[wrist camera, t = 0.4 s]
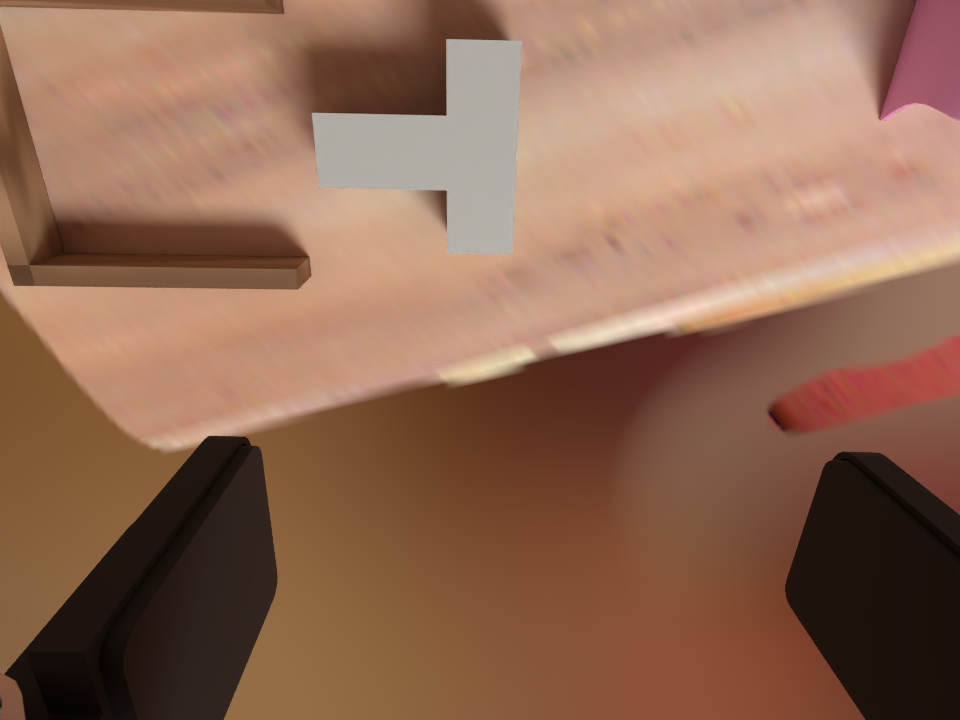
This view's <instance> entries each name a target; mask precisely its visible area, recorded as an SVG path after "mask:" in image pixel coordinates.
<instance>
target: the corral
mask: <svg viewBox="0 0 960 720" xmlns="http://www.w3.org/2000/svg"><path fill="white" fill-rule="evenodd" d="M0 7H35V8H74V9H113V10H151V11H190V12H228V13H267V14H284V8H283V0H0ZM0 244H1V247H2V250H3V253H4V256H5V259H6V262H7V266H8V269H9V272H10V275H11V278H12V281H13V284H14V286H82V287H154V288H227V289H299V288H300V287H301V286H302V285H303V284H304V283H305V282H306V281H307V280H308V279H309V278H310V277H311V268H310V258H309V257H271V256H206V255H140V254H74V253H64V251H63V248H62V244H61V241H60V237H59V234H58V230H57V226H56V223H55V219H54V216H53V212H52V209H51V205H50V202H49V198H48V194H47V191H46V187H45V184H44V180H43V177H42V173H41V170H40V166H39V162H38V159H37V155H36V152H35V148H34V145H33V141H32V138H31V134H30V130H29V127H28V123H27V120H26V116H25V113H24V109H23V106H22V102H21V98H20V95H19V91H18V88H17V84H16V81H15V77H14V74H13V70H12V66H11V63H10V59H9V56H8V52H7V49H6V45H5V42H4V38H3V34H2V31H1V27H0Z"/></svg>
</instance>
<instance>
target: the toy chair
mask: <svg viewBox="0 0 960 720" xmlns="http://www.w3.org/2000/svg"><path fill="white" fill-rule="evenodd" d="M918 103H919V104H925V105H928V106H930V107H933V108H935V109H937V110H939V111H940V112H942V113H944V114H946V115H947V116H949V117H951V118H953V119H956V120H958V121H960V0H916V3H915V6H914V9H913V13H912V16H911V19H910V22H909V26H908V29H907V32H906V35H905V39H904V42H903V45H902V48H901V51H900V55H899V58H898V61H897V64H896V68H895V71H894V74H893V77H892V81H891V84H890V87H889V90H888V93H887V97H886V100H885V103H884V106H883V110H882V113H881V116H880V120H882V121H886V120H887V119H889V118H890V117H891V116H893V115H894V114H895V113H897V112H899V111H900V110H902V109H904V108H906V107H908V106H910V105H914V104H918Z"/></svg>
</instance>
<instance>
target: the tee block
mask: <svg viewBox="0 0 960 720" xmlns="http://www.w3.org/2000/svg"><path fill="white" fill-rule="evenodd" d="M521 48H522V41H505V40H465V39H446V90H447V115H404V114H358V113H312V120H313V130H314V141H315V152H316V163H317V174H318V184H319V188H340V189H394V190H447V254H510V255H512V254H513V231H514V209H515V186H516V163H517V140H518V117H519V94H520V71H521Z"/></svg>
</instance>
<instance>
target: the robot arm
mask: <svg viewBox="0 0 960 720" xmlns="http://www.w3.org/2000/svg"><path fill="white" fill-rule="evenodd" d="M276 587H277V567H276V560H275V552H274V544H273V536H272V529H271V521H270V514H269V507H268V498H267V491H266V483H265V475H264V467H263V460H262V453H261V450H260V448H259V447H258V446H251V444H250V442H249V440H248V438H246V437H236V436H208V437H207V438H206V439H204V441H203V442H202V443H201V444H200V445H199V446H198V448H197V449H196V450H195V451H194V452H193V454H192V455H191V456H190V457H189V458H188V459H187V461H186V462H185V463H184V464H183V466H182V467H181V468H180V469H179V470H178V472H177V473H176V474H175V475H174V476H173V477H172V478H171V480H170V481H169V482H168V483H167V484H166V486H165V487H164V488H163V489H162V490H161V491H160V493H159V494H158V495H157V496H156V498H155V499H154V500H153V501H152V502H151V503H150V504H149V506H148V507H147V508H146V509H145V511H144V512H143V513H142V514H141V515H140V516H139V518H138V519H137V520H136V521H135V522H134V523H133V524H132V525H131V526H130V527H129V528H128V529H127V530H126V531H125V532H124V534H123V535H122V536H121V537H120V538H119V540H118V541H117V542H116V543H115V544H114V545H113V547H112V548H111V549H110V550H109V551H108V553H107V554H106V555H105V556H104V557H103V558H102V560H101V561H100V562H99V563H98V564H97V565H96V567H95V568H94V569H93V570H92V571H91V573H90V574H89V575H88V576H87V577H86V578H85V580H84V581H83V582H82V583H81V584H80V586H79V587H78V588H77V589H76V590H75V591H74V593H73V594H72V595H71V596H70V597H69V598H68V600H67V601H66V602H65V603H64V604H63V606H62V607H61V608H60V609H59V610H58V612H57V613H56V614H55V615H54V616H53V618H52V619H51V620H50V621H49V622H48V623H47V625H46V626H45V627H44V628H43V629H42V630H41V632H40V633H39V634H38V635H37V636H36V637H35V639H34V640H33V641H32V642H31V643H30V644H29V646H28V647H27V648H26V649H25V650H24V652H23V653H22V654H21V655H20V656H19V657H18V659H17V660H16V661H15V662H14V663H13V665H12V666H11V667H10V668H9V669H8V670H7V672H6V673H5V674H2V673H0V720H223V719H224V717H225V715H226V713H227V710H228V707H229V705H230V703H231V700H232V698H233V696H234V693H235V691H236V688H237V686H238V684H239V681H240V678H241V676H242V674H243V671H244V669H245V667H246V664H247V662H248V659H249V657H250V654H251V652H252V649H253V647H254V645H255V642H256V640H257V638H258V635H259V633H260V630H261V628H262V625H263V623H264V621H265V618H266V616H267V613H268V611H269V609H270V606H271V603H272V601H273V599H274V596H275V592H276ZM785 592H786V598H787V601H788V603H789V605H790V607H791V608H792V610H793V612H794V613H795V614H796V616H797V618H798V619H799V621H800V622H801V624H802V625H803V626H804V628H805V629H806V631H807V633H808V634H809V636H810V637H811V639H812V640H813V641H814V643H815V645H816V646H817V647H818V649H819V651H820V652H821V654H822V655H823V657H824V658H825V660H826V661H827V663H828V664H829V665H830V667H831V669H832V670H833V672H834V673H835V675H836V676H837V677H838V679H839V680H840V682H841V684H842V685H843V687H844V688H845V690H846V691H847V693H848V694H849V696H850V697H851V699H852V700H853V702H854V703H855V705H856V706H857V708H858V709H859V711H860V712H861V714H862V715H863V716H864V718H865V720H960V515H959V514H958V513H956V512H955V511H954V510H953V509H951V508H950V507H949V506H948V505H946V504H945V503H944V502H943V501H941V500H940V499H939V498H938V497H936V496H935V495H934V494H932V493H931V492H930V491H929V490H927V489H926V488H925V487H924V486H922V485H921V484H920V483H919V482H917V481H916V480H915V479H914V478H912V477H911V476H910V475H908V474H907V473H906V472H905V471H903V470H902V469H901V468H900V467H899V466H897V465H896V464H895V463H893V462H892V461H891V460H890V459H888V458H887V457H886V456H884V455H882V454H880V453H872V452H841V453H838V454H837V455H836V456H835V457H834V458H833V460H831V461H829V462H827V463H826V464H825V466H824V468H823V470H822V473H821V477H820V480H819V483H818V486H817V489H816V492H815V495H814V498H813V501H812V504H811V508H810V510H809V513H808V516H807V520H806V522H805V525H804V529H803V532H802V535H801V538H800V541H799V544H798V547H797V550H796V553H795V556H794V559H793V562H792V565H791V568H790V572H789V574H788V578H787V581H786V585H785Z"/></svg>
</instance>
